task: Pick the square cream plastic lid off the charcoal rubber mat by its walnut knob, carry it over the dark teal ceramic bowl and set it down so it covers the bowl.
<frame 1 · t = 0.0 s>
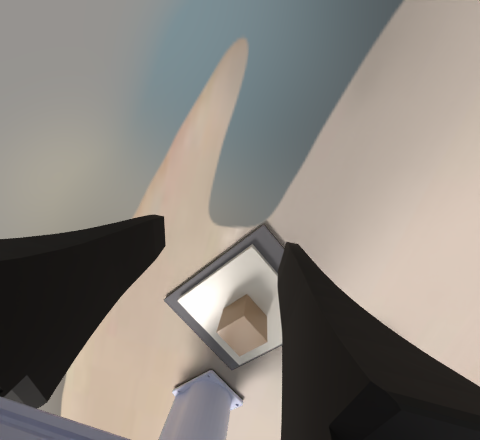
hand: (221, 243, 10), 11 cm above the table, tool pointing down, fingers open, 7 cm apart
lid: (245, 307, 23), resting on mat
mat: (245, 305, 23), on the table
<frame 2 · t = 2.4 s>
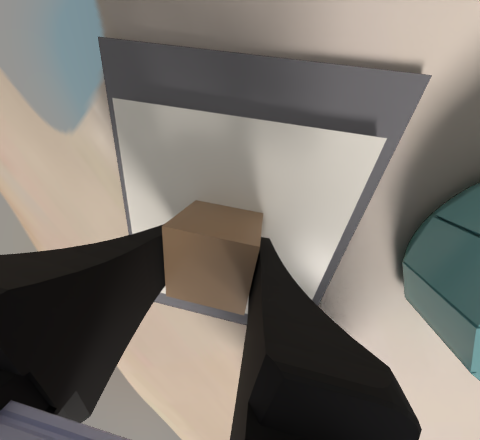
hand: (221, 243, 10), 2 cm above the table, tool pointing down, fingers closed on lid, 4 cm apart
lid: (228, 230, 11), resting on mat, touching gripper
mat: (229, 226, 12), on the table
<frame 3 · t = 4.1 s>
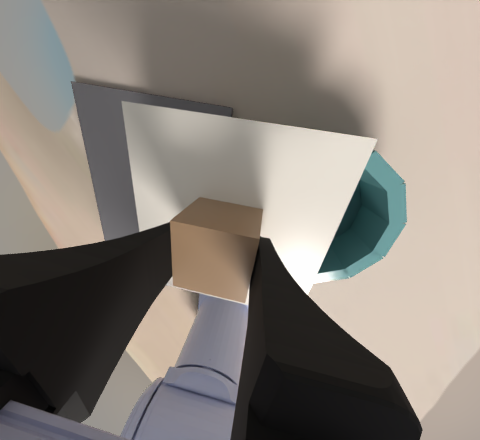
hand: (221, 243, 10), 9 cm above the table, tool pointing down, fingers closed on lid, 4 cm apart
lid: (229, 225, 12), point 6 cm above the table, touching gripper
mat: (156, 191, 19), on the table
bowl: (305, 203, 17), on the table
when the fingers open (8 cm above the table, at t = 5.7 s): lid stays where it is, resting on bowl.
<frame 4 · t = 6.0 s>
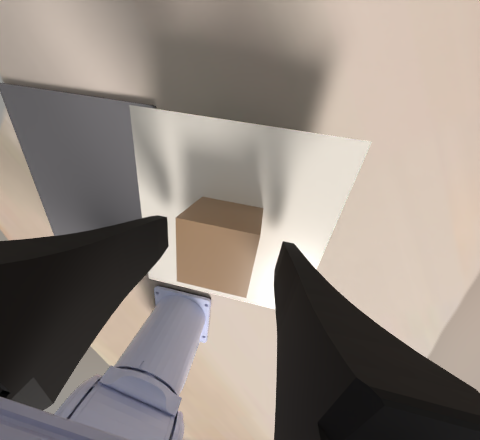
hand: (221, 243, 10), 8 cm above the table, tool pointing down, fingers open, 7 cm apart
lid: (231, 224, 13), point 5 cm above the table, touching bowl
mat: (98, 192, 19), on the table
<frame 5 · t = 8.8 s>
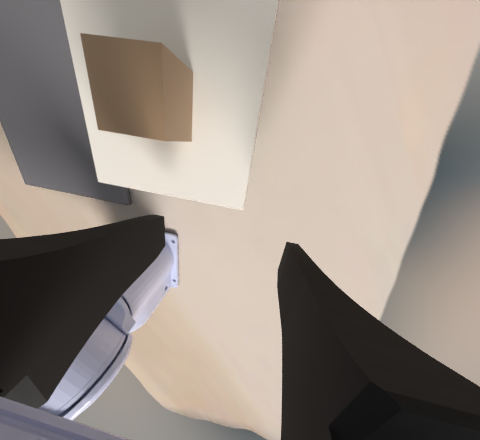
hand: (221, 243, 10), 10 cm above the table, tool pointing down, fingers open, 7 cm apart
lid: (170, 107, 12), point 5 cm above the table, touching bowl
mat: (58, 115, 19), on the table
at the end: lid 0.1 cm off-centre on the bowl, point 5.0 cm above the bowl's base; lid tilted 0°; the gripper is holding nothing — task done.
